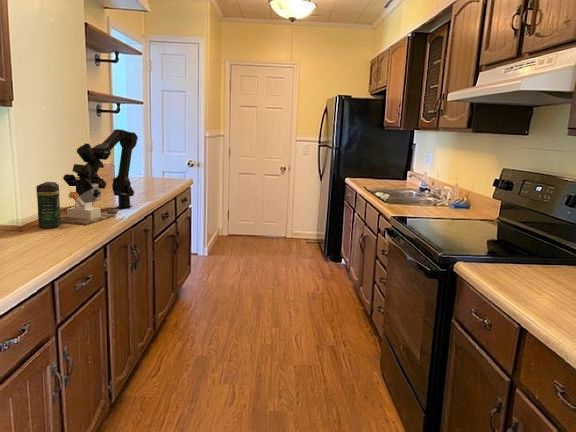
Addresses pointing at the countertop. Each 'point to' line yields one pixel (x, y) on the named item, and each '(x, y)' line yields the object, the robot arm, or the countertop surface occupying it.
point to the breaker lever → (76, 198)
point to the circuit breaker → (91, 195)
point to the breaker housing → (83, 211)
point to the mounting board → (85, 221)
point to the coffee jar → (48, 205)
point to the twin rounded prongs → (112, 211)
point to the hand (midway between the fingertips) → (76, 196)
